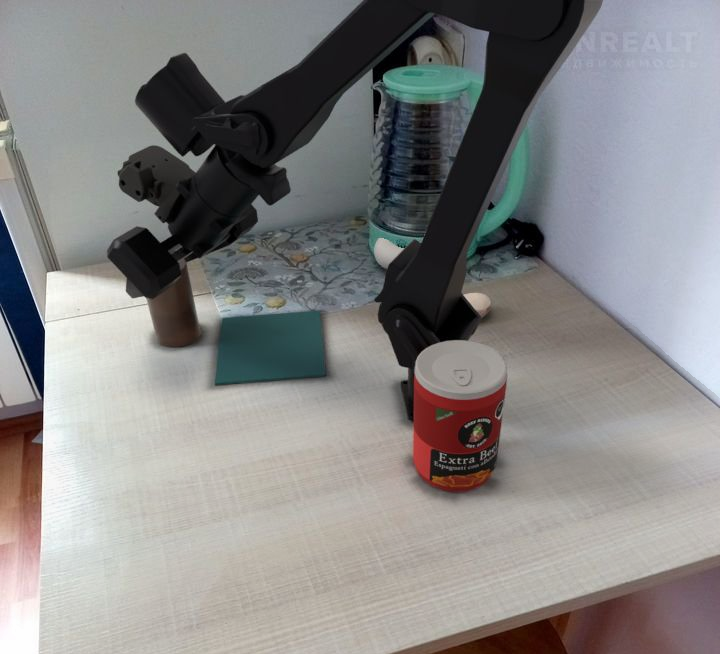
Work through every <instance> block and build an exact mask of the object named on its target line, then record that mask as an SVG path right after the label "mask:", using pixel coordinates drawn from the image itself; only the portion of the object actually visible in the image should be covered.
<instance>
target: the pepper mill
mask: <svg viewBox="0 0 720 654" xmlns="http://www.w3.org/2000/svg"><path fill="white" fill-rule="evenodd" d="M175 251H176V250H174V251H173V252H175ZM173 252H171V253H170V254H172V253H173ZM178 263H179V266H180V270H181V276H180V278H179V279H178V280H177V281H176V282H175V283H174V284H173V286H171V287H170V288H168V289H167V290H166V291H164V292H163V293H161V294H160V295H158V296H157V297H156V298H154V299H149V298H145V299H146V303H147V307H148V311H149V315H150V319H151V322H152V327H153V330H154V334H155V338H156V341H157V343H158V344H160V346H163V347H167V348H180V347H185V346H188V345H191V344H192V343H195V342H196V341H197V340H199V338H200V337H201V335H202V331H201V327H200V326H201V325H200V321H199V317H198V312H197V308H196V303H195V298H194V292H193V287H192V284H191V283H192V282H191V279H190V274H189V268H188V264H187V263H186V261H185V260H184V259H182V260H181V261H179V262H178Z"/></svg>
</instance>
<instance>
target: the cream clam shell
mask: <svg viewBox="0 0 720 654" xmlns="http://www.w3.org/2000/svg"><path fill="white" fill-rule="evenodd" d="M463 295H464V297H465V298H466V299H467V300H468V301H469V303H470V304H471V305H472V306H473V307H474V309H475V310H476V311H477V312H478V313H479V315H480V316H481V318H482V319H483V318H484V317H486V315H487V314H489V312H490V310H491V306H490V305H491V302H492V301H491V299H490V298H489V296H488V295H486V294H485V293H480V292H469V293H465V294H463Z"/></svg>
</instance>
